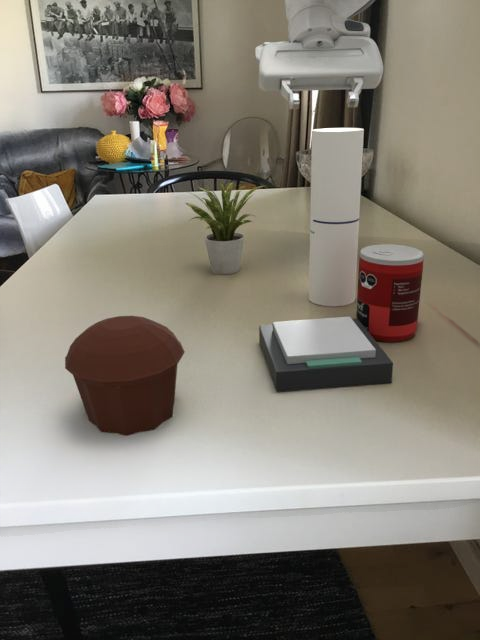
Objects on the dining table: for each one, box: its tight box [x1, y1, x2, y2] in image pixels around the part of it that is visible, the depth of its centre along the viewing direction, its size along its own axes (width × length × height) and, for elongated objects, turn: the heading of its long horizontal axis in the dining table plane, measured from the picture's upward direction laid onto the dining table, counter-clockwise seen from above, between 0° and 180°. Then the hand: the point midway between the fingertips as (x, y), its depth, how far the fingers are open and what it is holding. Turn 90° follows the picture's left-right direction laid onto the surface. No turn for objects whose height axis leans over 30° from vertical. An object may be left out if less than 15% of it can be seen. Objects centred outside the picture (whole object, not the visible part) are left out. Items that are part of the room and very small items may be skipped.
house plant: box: [185, 180, 268, 275], centre depth 101 cm, size 14×14×16 cm
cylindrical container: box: [308, 127, 365, 307], centre depth 83 cm, size 7×7×25 cm
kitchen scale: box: [258, 316, 394, 393], centre depth 68 cm, size 13×13×4 cm
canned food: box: [355, 243, 425, 343], centre depth 74 cm, size 8×8×11 cm
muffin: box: [64, 315, 185, 437], centre depth 57 cm, size 12×11×10 cm
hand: (324, 105), depth 90 cm, fingers open, 8 cm apart
